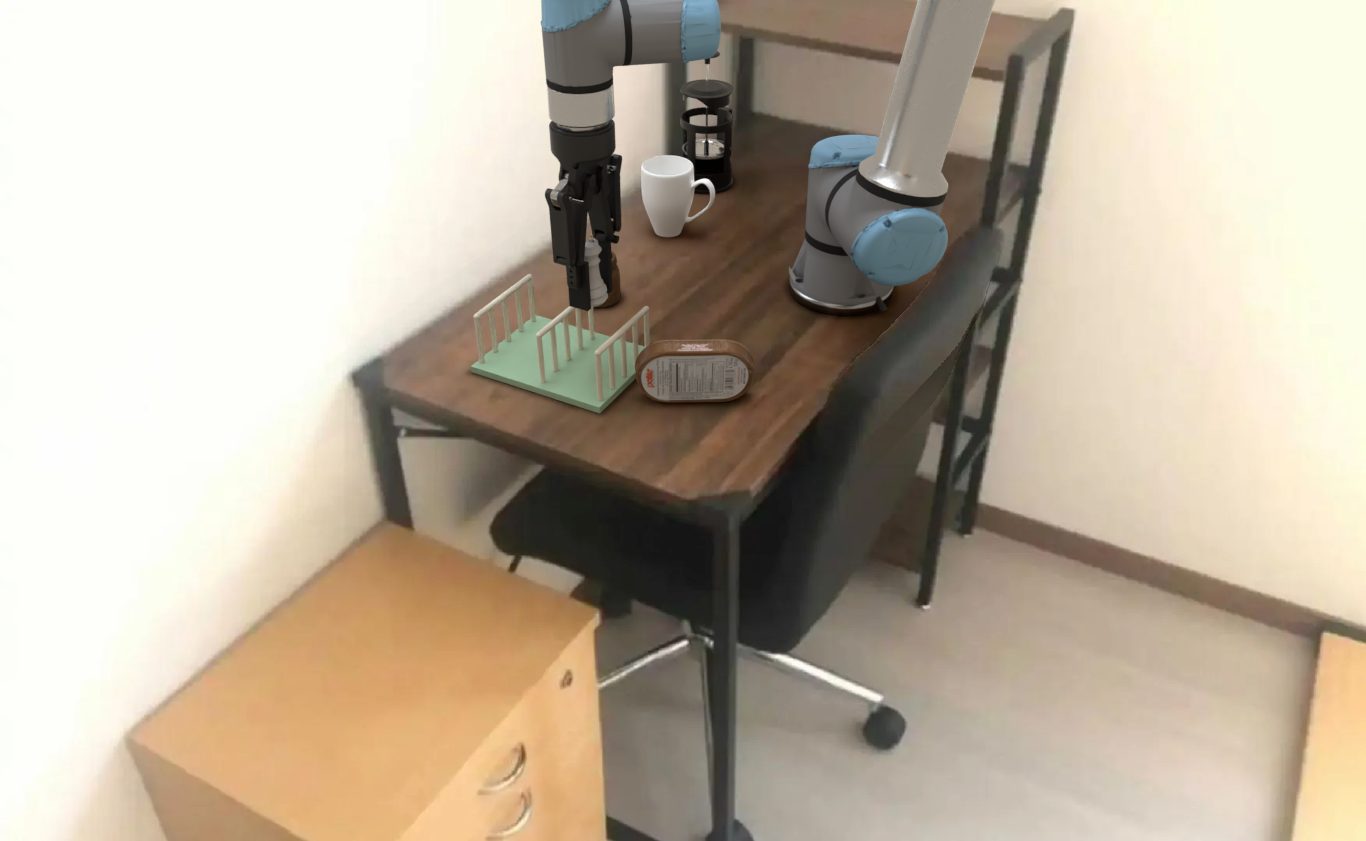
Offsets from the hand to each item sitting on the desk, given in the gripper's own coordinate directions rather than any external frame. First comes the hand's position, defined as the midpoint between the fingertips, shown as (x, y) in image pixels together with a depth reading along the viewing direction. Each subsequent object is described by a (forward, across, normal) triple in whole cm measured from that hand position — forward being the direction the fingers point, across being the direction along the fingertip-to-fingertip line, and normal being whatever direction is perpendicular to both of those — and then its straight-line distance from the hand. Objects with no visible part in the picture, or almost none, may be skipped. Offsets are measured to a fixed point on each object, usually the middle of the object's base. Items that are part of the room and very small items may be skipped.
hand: (591, 297), depth 142 cm
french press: (+12, -61, -15) cm, 64 cm away
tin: (+12, -1, +14) cm, 18 cm away
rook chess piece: (0, 0, 0) cm, 0 cm away
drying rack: (+11, 0, -5) cm, 12 cm away
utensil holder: (+12, -17, -10) cm, 23 cm away
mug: (+12, -41, -10) cm, 44 cm away
